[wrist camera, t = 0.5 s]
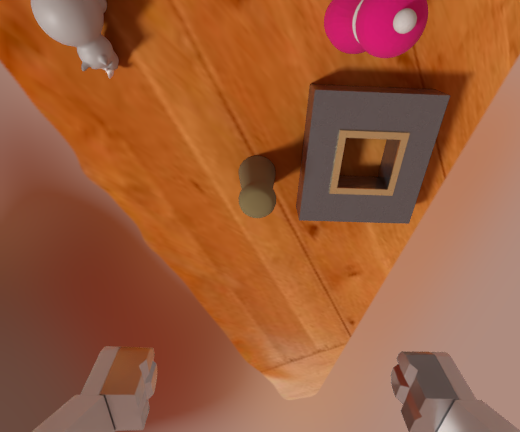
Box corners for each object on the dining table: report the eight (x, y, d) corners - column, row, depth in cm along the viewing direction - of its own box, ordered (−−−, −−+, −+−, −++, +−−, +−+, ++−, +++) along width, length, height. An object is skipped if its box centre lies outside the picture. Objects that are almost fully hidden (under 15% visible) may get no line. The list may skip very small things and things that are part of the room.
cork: (282, 165, 53) (287, 196, 44) (265, 195, 56) (267, 231, 47) (248, 149, 52) (246, 178, 43) (232, 180, 55) (227, 215, 45)
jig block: (310, 83, 47) (315, 90, 43) (434, 89, 48) (451, 96, 44) (296, 206, 57) (299, 221, 53) (398, 209, 58) (409, 224, 54)
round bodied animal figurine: (93, 64, 48) (79, 99, 43) (31, -33, 38) (2, -4, 33) (140, 52, 47) (130, 86, 42) (87, -50, 38) (67, -23, 32)
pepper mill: (345, -28, 41) (411, -62, 23) (387, 10, 43) (477, 6, 25) (308, 28, 44) (343, 35, 26) (350, 62, 46) (407, 88, 29)
